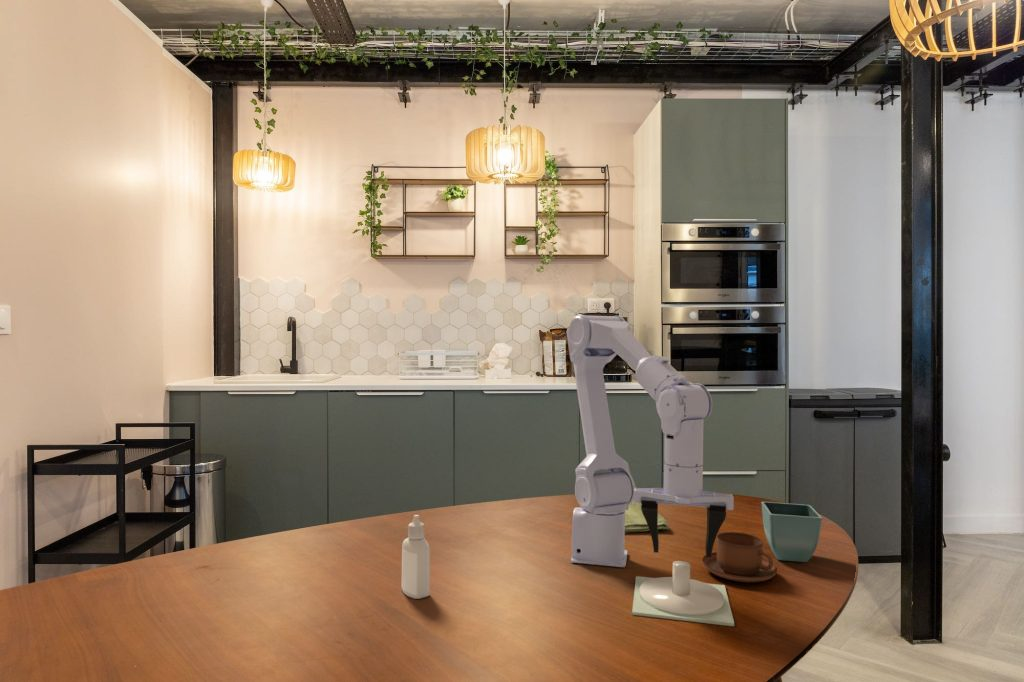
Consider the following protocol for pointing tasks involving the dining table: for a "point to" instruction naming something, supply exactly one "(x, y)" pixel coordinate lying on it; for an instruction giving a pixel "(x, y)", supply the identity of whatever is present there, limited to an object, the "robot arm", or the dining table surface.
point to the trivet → (718, 617)
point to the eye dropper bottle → (416, 562)
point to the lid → (681, 593)
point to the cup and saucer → (740, 558)
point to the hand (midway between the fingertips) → (682, 552)
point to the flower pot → (791, 530)
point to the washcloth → (640, 520)
